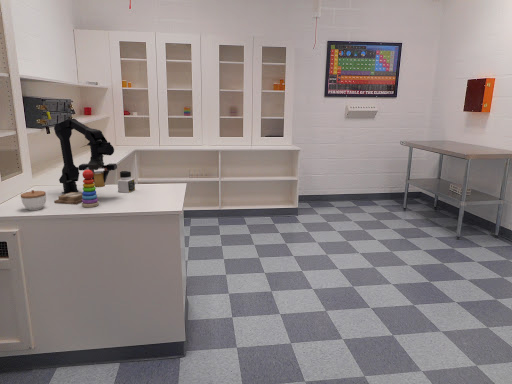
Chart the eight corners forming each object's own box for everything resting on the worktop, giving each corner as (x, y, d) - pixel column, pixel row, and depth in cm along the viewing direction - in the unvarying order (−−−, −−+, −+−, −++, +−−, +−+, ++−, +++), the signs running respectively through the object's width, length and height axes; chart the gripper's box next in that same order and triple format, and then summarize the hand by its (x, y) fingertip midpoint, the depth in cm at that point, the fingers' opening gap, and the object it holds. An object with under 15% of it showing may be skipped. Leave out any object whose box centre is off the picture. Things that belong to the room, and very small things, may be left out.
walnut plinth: (54, 203, 196) (53, 196, 195) (70, 196, 208) (70, 191, 208) (76, 204, 194) (76, 198, 193) (91, 198, 206) (91, 192, 205)
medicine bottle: (129, 192, 218) (127, 172, 215) (118, 192, 219) (116, 172, 216) (135, 189, 225) (133, 170, 222) (124, 189, 226) (122, 169, 223)
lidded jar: (48, 209, 185) (46, 191, 183) (23, 212, 179) (20, 193, 177) (46, 204, 194) (44, 186, 191) (22, 207, 188) (19, 189, 186)
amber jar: (92, 187, 203) (91, 172, 201) (98, 184, 208) (97, 170, 206) (101, 187, 202) (100, 172, 200) (107, 185, 207) (105, 171, 205)
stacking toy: (81, 208, 187) (77, 171, 182) (82, 204, 194) (78, 168, 189) (99, 206, 190) (95, 170, 185) (98, 202, 197) (95, 167, 192)
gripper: (72, 156, 192) (76, 186, 196) (109, 156, 193) (112, 185, 197) (81, 153, 203) (84, 181, 207) (116, 153, 204) (118, 181, 208)
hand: (99, 182), depth 205 cm, fingers closed on amber jar, 5 cm apart
